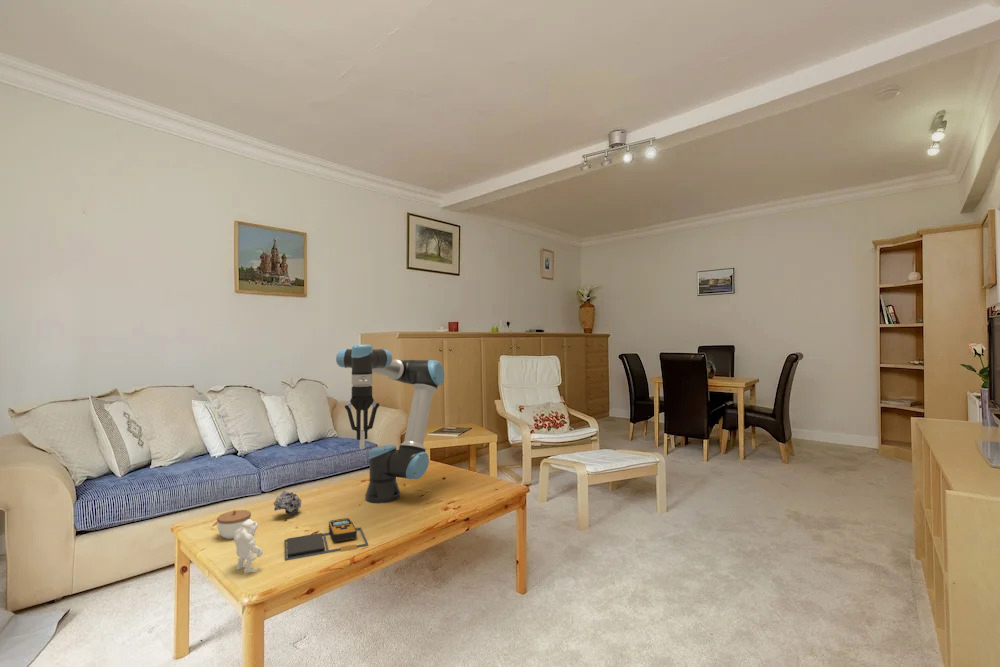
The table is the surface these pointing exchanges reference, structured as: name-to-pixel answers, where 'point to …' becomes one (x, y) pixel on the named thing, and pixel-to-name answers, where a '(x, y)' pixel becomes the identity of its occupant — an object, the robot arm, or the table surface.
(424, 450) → the robot arm
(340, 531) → the electronic device
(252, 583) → the table surface
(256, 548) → the figurine
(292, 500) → the mineral specimen
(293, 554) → the grey flat frame
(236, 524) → the lidded jar
